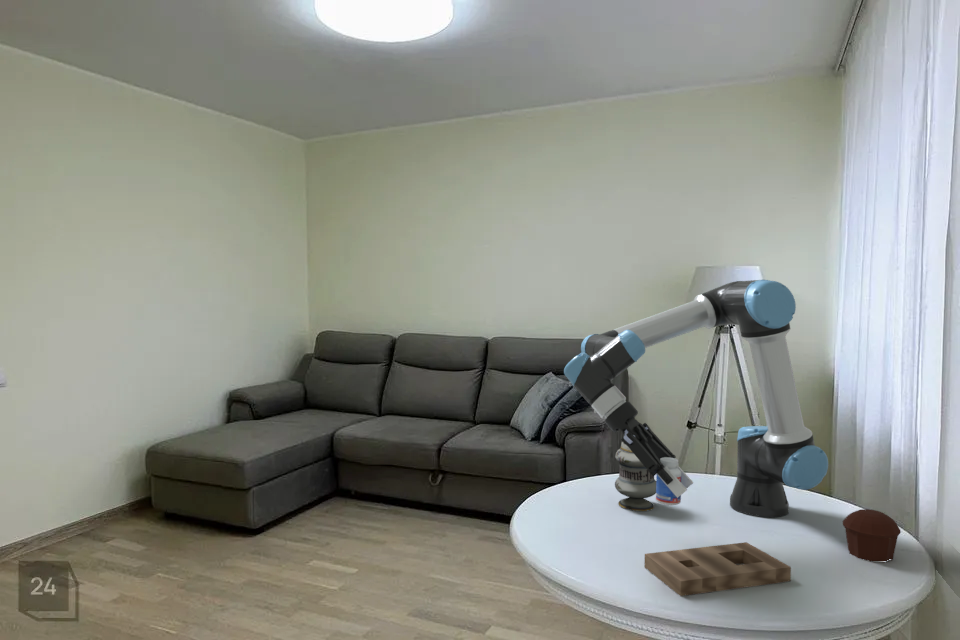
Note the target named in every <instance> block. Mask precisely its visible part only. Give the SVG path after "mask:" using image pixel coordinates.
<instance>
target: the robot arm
mask: <svg viewBox="0 0 960 640" xmlns="http://www.w3.org/2000/svg"><path fill="white" fill-rule="evenodd" d="M796 305H797V303H796V301H795V297H794V295H793V293H792V291H791V289H789V287H787V286H786V285H784V284H783V283H781V282H779V281H776V280H769V279H757V280H756V279H754V280H736V281H730V282H728V283H725V284H723V285H720V286H718V287H715V288H713V289H710V290H708V291H706V292H703V293H700V294H697V295H696V296H695V297H694V298H693V300H692V301H689V302H686V303H683V304H681V305H678V306H676V307H672V308H670V309H666V310H665V311H661V312H659V313H658V312H657V313H656V314H652V315H651V316H648V317H645V318H641V319H639V320H636V321H634V322H631V323H627V324H625V325H622V326H619V327H617V328H614V329H612V330H608V331H606V332H603V333H600V334H599V333H592V334H589V335H587V336H586V337H585V338H583V340H582V342H581V344H580V345H581V346H580V351H581V352H580V353H579V354H577V355H575V356H574V357H573V358H572V359H571V360H570V361H568V362H567V364H566V365H565V367H564V369H563V375H564V376H565V377H566V378H567V379H568V381H569V382H570V384H571V385H572V387H573V388H575V390H576V391H577V392H578V393H579V394H580V395H581V397H583V398H584V400H585V401H586V402H587V403H588V404H589V405H590V407H591V408H592V409H593V413H594V414H597V415H598V416H599V417H600V418H601V419H604V423H605V424H606V425H607V427H608V428H609V429H610V431H612V432H613V433H618V432H619V431H620V432H621V434H622V435H623V437H622V438H621V439H620V440H621V443H622V442H623V443H624V444H626V445H627V446H628V447H629V448H630V450H631V451H632V452H633V453H634V454H635V456H636V457H637V458H638V459H639V460H640V461H641V463H642V464H643V465H644V466H645V467H646V469H647V470H648V471H649V472H650V473H651V475H652V476H654V477H655V476H657V475H658V476H659V477H660V478H661V480H662V481H663V482H664V483H665V484H666V485H667V487H668V488H669V489H670V490H671V491H672V492H673V493H674V495H675V496H676V497H677V498H678V497H679V496H680V495H681V496H682V495H683V494H684V493H685V492H687V490H688V488H690V487H691V486H692V485H693V484H694V482H693V480H692V479H691V478H690V476H689V475H688V474H687V473H685V471H684V470H683V469H682V468H681V467H680V466H679V465H678V467H677V469H679V470H680V471H681V482H680V481H679V480H678V479H677V478H676V476H675V475H674V474H673V473H672V472H671V471H670V470H669V468H668V467H667V466H666V467H665V468H664V465H663V464H662V463H661V461H660V458H664V457H670V458H675V459H677V458H676V455H675V454H674V453H673V452H672V451H671V450H670V449H669V448H668V447H667V446H666V444H664V442H662V440H661V439H660V438H659V437H658V435H656V434H655V433H654V432H653V430H652V429H651V428H650V426H649V425H648V423H647V422H644V423H643V424H642V423H641V422H639V421H638V420H637V419H636V416H637V415H638V414H639V411H638V410H637V408H636V407H635V406H634V405H633V404H632V403H631V401H626V400H627V397H626V396H625V395H624V394H623V393H622V391H620V389H619V388H618V387H617V386H616V385H615V384H614V383H613V381H612V380H615V378H617V377H618V376H620V374H621V373H623V372H624V371H625V370H627V369H629V367H631V366H632V365H633V364H635V363H637V362H638V361H639V359H640V358H641V357H643V356H644V354H645V353H646V349H647V348H650V347H652V346H654V345H658V344H660V343H664V342H666V341H669V340H671V339H675V338H677V337H680V336H682V335H685V334H689V333H691V332H694V331H697V330H699V329H701V328H706V329H713V328H716V327H720V326H725V325H737V326H739V327H738V328H739V331H740V337H741V338H742V339H744V340H745V341H747V342H748V343H749V347H750V353H751V357H752V362H753V366H754V371H755V375H756V380H757V384H758V389H759V394H760V399H761V402H762V409H763V413H764V418H765V422H766V423H765V424H766V425H752V426H751V425H748V426H743V427H740V428H739V429H738V433H737V439H736V441H737V455H736V456H737V457H736V459H737V461H736V462H737V468H736V469H737V470H736V473H737V474H736V480H735V483H734V486H733V489H732V492H731V494H730V496H729V506H730V508H731V509H733V510H735V511H737V512H739V513H743V514H745V515H749V516H753V517H754V516H755V517H761V518H762V517H764V518H777V517H778V518H779V517H784V516H787V515H789V512H790V511H789V509H790V504H789V501H788V498H787V495H786V494H787V493H786V491H785V487H784V485H786V486H787V487H790V488H794V489H796V490H797V489H798V490H802V491H805V490H806V491H807V490H810V489H813V488H814V487H817V486H818V485H819V484H820V483H822V481H823V479H824V478H825V477H826V476H827V473H828V469H829V459H828V456H827V453H826V452H825V450H823V449H822V448H821V447H819V446H817V445H816V444H815V439H814V433H813V431H812V430H811V429H809V428H808V427H806V426H805V424H804V419H803V414H802V410H801V409H802V408H801V405H800V400H799V395H798V390H797V385H796V381H795V377H794V371H793V366H792V362H791V358H790V357H791V356H790V353H789V352H790V351H789V347H788V343H787V338H786V336H787V334H788V333H789V332H790V330H791V325H790V322H791V321H792V320H793V318H794V315H795V314H796V308H797V307H796ZM663 468H664V469H663Z"/></svg>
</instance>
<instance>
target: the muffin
mask: <svg viewBox="0 0 960 640" xmlns="http://www.w3.org/2000/svg"><path fill="white" fill-rule="evenodd" d="M842 526H843V527H844V528H845V529H844V530H845V536H846V543H847V550H848V553H849V555H852V556H854V557H856V558H857V559H860V560H863V559H864V560H863V561H867V560H869V561H868V562H871V561H887V560H889V559H893V560H894V556H895V550H896V546H897V541H898V537H899V535H900V534H901V533H902V532H901V529H900V527H899V525H898V524H897V522H896V521H895V520H894V519H893V518H892V517H891V516H889V515H887V514H886V513H885V512H883V511H879V510H876V509H875V510H874V509H865V508H863V509H858V510H855V511H852V512H850V513H849V514H847V516H846V517H845V518H844V519H843V520H842Z"/></svg>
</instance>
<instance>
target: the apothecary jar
mask: <svg viewBox="0 0 960 640" xmlns="http://www.w3.org/2000/svg"><path fill="white" fill-rule="evenodd" d="M614 457H615V459H616V461H617V462H618V463H619V470H618V471H619V472H618V473H619V474H618V477H617V478H616V480H615V482H614V487H615V490H616V491H617V492H618V493H620V494H621V495H622V496H625V497H626V498H622V499H620V500H619V501H618V503H617V504H618V506H619V507H620V506H621V507H620V508H622V509H624V508H625V509H626V510H630V511H633V510H634V511H635V512H647V510H649V511H652V510H653V509H654V508H655V505H654V503H653V502H651V501H650V500H647V499H648V498H651V497H653V496H656V479H655V476H652V475H651V473H650V472H649V471H648V470H647V469H646V467H645V466H644V465H643V464H642V463H641V461H640V460H639V459H638V458H637V457H636V456H635V454H634V453H633V452H632V451H631V450H630V448H629V447H628V446H627V445H626V444H624V443H623V442H622V441H621V445H620V448H619V449H617V451H616V452H615V456H614ZM625 509H624V510H625ZM651 509H652V510H651Z"/></svg>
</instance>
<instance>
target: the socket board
mask: <svg viewBox="0 0 960 640" xmlns="http://www.w3.org/2000/svg"><path fill="white" fill-rule="evenodd" d="M644 569H646V570H647V569H648V570H649V571H648V570H647V571H648V572H650V573H651V574H652V573H653V574H654V575H653V574H652V575H653V576H655V577H656V578H657V579H658V580H660V581H661V582H662V583H664V585H666V586H667V587H669V588H670V589H671V590H672V591H673V592H675V593H676V594H677V595H679V597H684V596H690V595H691V596H692V595H698V594H706V593H713V592H720V591H727V590H734V589H735V590H736V589H737V590H738V589H742V588H750V587H757V586H765V585H772V584H780V583H781V584H782V583H787V582H791V580H792V579H791V578H792V577H791V576H792V570H791V569H792V567H791V566H790V565H788V564H787V563H784V562H783V561H781V560H779V559H777V558H775V557H773V556H772V555H770V554H769V553H766V552H765V551H763V550H761V549H759V548H757V547H756V546H754V545H752V544H751V543H748V542H747V541H746V542H738V543H735V542H734V543H727V544H719V545H708V546H701V547H693V548H692V547H691V548H684V549H676V550H675V549H674V550H667V551H666V550H665V551H657V552H648V553H644Z"/></svg>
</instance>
